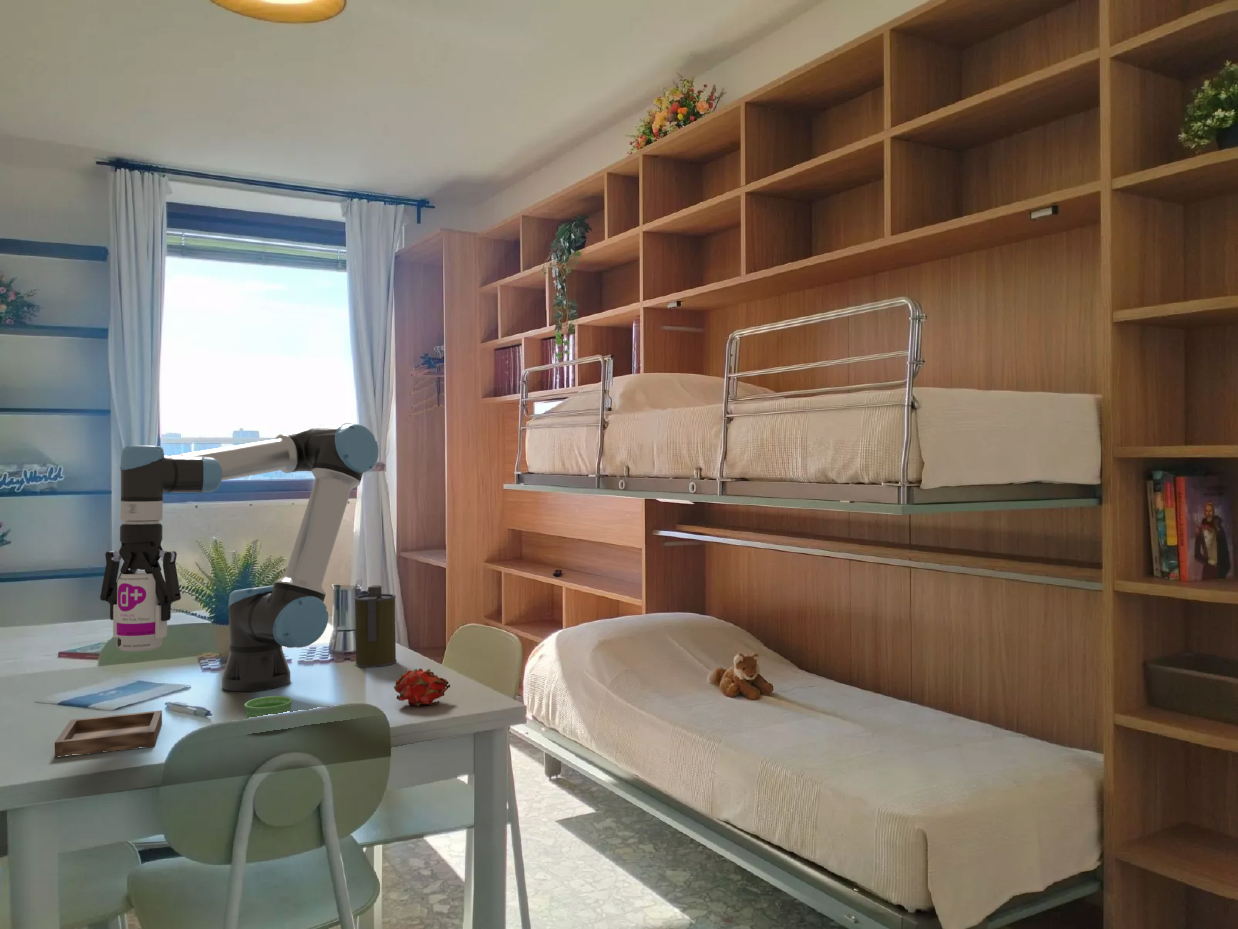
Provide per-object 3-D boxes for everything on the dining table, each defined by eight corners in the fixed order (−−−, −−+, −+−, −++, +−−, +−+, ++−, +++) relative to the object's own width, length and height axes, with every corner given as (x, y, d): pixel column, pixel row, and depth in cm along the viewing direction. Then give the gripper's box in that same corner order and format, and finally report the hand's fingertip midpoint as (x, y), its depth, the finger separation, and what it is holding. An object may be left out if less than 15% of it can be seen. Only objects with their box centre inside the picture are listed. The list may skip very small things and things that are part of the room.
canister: (359, 659, 244) (357, 584, 244) (399, 658, 245) (397, 583, 245) (351, 668, 233) (350, 590, 233) (393, 667, 234) (392, 588, 234)
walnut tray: (162, 724, 186) (161, 710, 186) (154, 746, 171) (154, 731, 171) (70, 734, 180) (70, 719, 180) (54, 758, 165) (54, 742, 165)
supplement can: (143, 652, 178) (144, 575, 178) (106, 651, 180) (107, 574, 180) (172, 645, 186) (173, 571, 186) (137, 644, 188) (138, 570, 188)
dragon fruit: (389, 713, 197) (445, 716, 200) (393, 698, 190) (452, 701, 194) (393, 676, 202) (448, 680, 205) (397, 659, 196) (454, 664, 199)
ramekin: (256, 717, 190) (255, 695, 190) (299, 716, 190) (298, 695, 190) (236, 729, 181) (236, 707, 181) (282, 729, 181) (281, 707, 181)
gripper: (79, 523, 181) (77, 639, 180) (180, 524, 179) (178, 641, 178) (104, 521, 188) (103, 632, 188) (201, 522, 186) (200, 634, 186)
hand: (140, 636), depth 183 cm, fingers closed on supplement can, 8 cm apart
